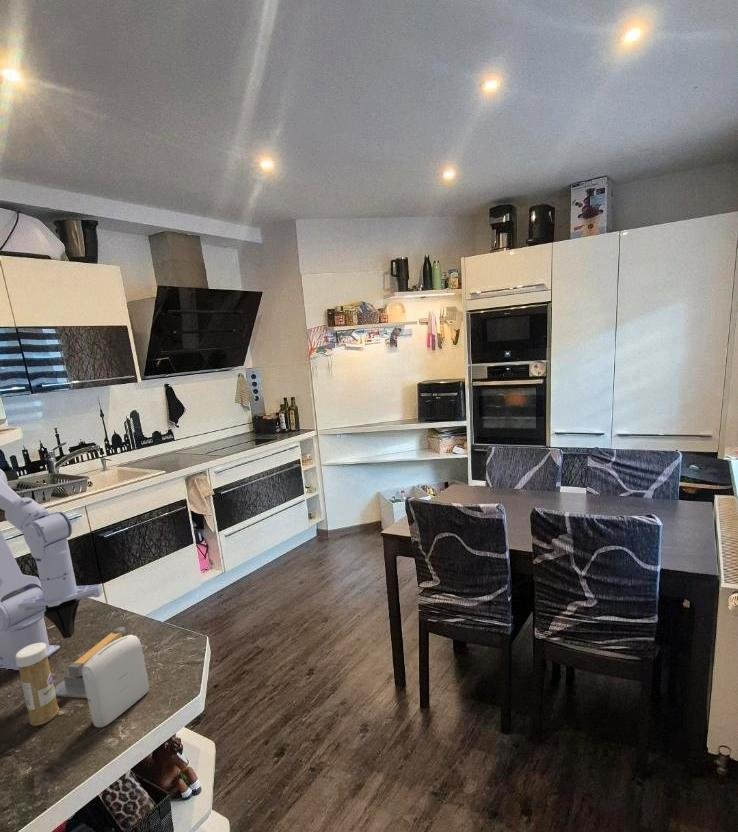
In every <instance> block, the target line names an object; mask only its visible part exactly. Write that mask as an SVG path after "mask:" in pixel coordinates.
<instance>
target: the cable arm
mask: <svg viewBox="0 0 738 832" xmlns="http://www.w3.org/2000/svg"><path fill="white" fill-rule="evenodd" d="M124 636H127V633H126V628H125V626H119V627H116V628H114V629H113V630H112V632H110V633H109V634H108V635H107V636H105V637H104V638H103V639H102V640H101V641H99V642H98V643H97V644H95V645H94V646H93V647H92V648H90V649H89V650H88V651H87V652H85V653H84V654H83V655H82V656H80V657H79V658H78V659H77V660H76V661H73V662H72V663H71V664H70V665H67V669H68V673H69V675H70V676H77V677H80V676H81V675H82V668H83V666H84V665H85V664H86V663H87V662H88V660H89V659H90V658H91V657H93V656H94V655H95V654H96V653H97V652H98V651H100V650H101V649H102V648H104V647H105V646H107V645H108V644H110V643H111V642H113V641H115V640H117V639H119V638H122V637H124Z"/></svg>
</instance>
